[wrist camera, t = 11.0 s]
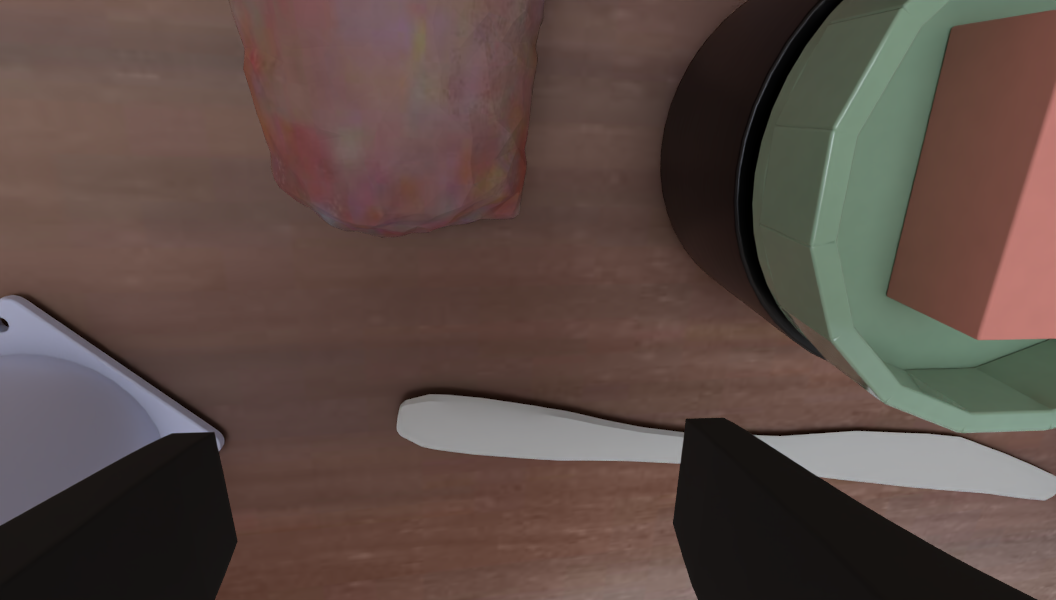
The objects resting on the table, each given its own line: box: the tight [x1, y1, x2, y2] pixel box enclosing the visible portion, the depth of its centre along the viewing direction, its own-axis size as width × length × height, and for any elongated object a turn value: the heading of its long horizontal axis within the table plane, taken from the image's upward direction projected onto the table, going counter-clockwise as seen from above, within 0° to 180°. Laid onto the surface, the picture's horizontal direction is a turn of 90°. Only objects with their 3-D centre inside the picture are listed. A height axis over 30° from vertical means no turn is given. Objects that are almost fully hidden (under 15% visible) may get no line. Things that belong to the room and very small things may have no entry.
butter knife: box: [397, 394, 1056, 500], centre depth 21 cm, size 1×27×3 cm
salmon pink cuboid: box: [887, 10, 1056, 340], centre depth 10 cm, size 6×4×2 cm, turn 179°
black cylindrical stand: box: [661, 0, 843, 361], centre depth 15 cm, size 10×10×6 cm
